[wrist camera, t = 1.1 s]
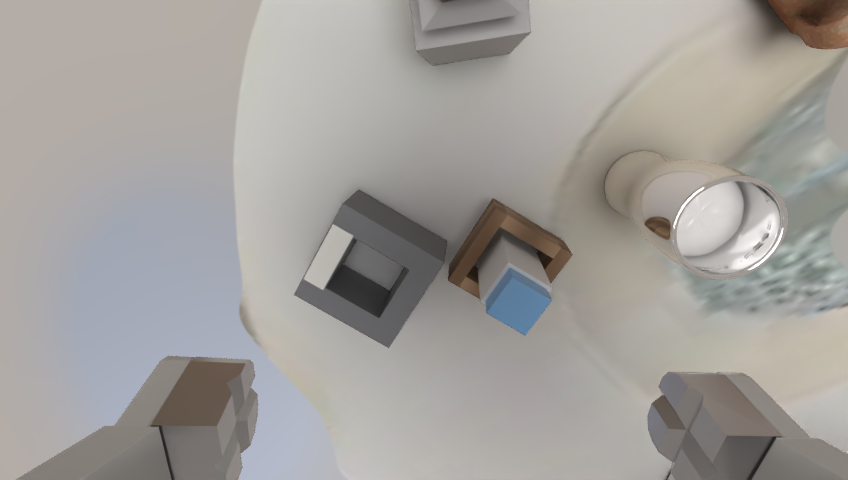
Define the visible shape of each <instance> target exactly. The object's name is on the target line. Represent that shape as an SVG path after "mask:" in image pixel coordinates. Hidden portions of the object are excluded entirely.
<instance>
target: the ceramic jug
mask: <svg viewBox="0 0 848 480" xmlns="http://www.w3.org/2000/svg"><path fill="white" fill-rule="evenodd" d="M767 1H768V2H769V4H770V5H771V7H772V8H773V10H774V11H775V12H776V13H777V15H778V16H779V17H780V18H781V20H782V21H783V22H785V23H786V25H787V27H788V29H789V30H790V31H791V33H793V34H797V35H800V36H801V38H802V39H803V41H804V42H805V44H806V45H808V46H809V47H812V48H818V49H837V48H844V47H848V0H767Z"/></svg>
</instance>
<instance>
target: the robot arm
mask: <svg viewBox="0 0 848 480" xmlns="http://www.w3.org/2000/svg"><path fill="white" fill-rule="evenodd" d="M254 378H255V371H254V365H253V362H252V361H251V360H247V359H227V358H208V357H179V356H167V357H166V358H164V359H162V360H161V361H160V362H159V364H158V365H157V366H156V368H155V369H154V371H153V372H152V374H151V375H150V376H149V378H148V379H147V380H146V382H145V383H144V385H143V386H142V387H141V389H140V390H139V392H138V393H137V394H136V396H135V397H134V399H133V400H132V402H131V403H130V404H129V406H128V407H127V409H126V410H125V411H124V413H123V414H122V416H121V417H120V419H119V420H118V421H117V423H116V424H115V425H114V426H104V427H102V428H101V429H99V430H97V431H96V432H94V433H92V434H91V435H89V436H87V437H86V438H84V439H82V440H81V441H79V442H77V443H76V444H74V445H72V446H71V447H69V448H68V449H66V450H64V451H62V452H61V453H59V454H58V455H56V456H54V457H53V458H51V459H49V460H48V461H46V462H44V463H43V464H41V465H39V466H38V467H36V468H34V469H33V470H31V471H30V472H28V473H26V474H24V475H23V476H21V477H19V478H18V479H16V480H238V478H239V475H240V473H241V470H242V461H241V453H242V452H243V451H244V450H246V449H247V448H248V447H249V446H250V445H251V441H252V439H253V435H254V433H255V428H256V422H257V417H258V397H257V393H256V392H255V391H254V390H253V389H252V388H251V385H252V383H253V380H254ZM659 389H660V391H661V393H662V396H661V397H659V398H658V399H657V400H655V401H654V402H653V403H652V404H651V407H650V410H649V413H648V430H649V433H650V436H651V439H652V441H653V443H654V445H655V447H656V448H657V450H658V452H659V453H661V454H662V455H663V456H665V457H666V458H667V459H669V460H670V461H671V462H672V466H671V474H670V476H669V478H668V480H848V454H846V453H844V452H842V451H841V450H839V449H837V448H835V447H833V446H832V445H830V444H828V443H826V442H824V441H823V440H821V439H816V438H810V437H809V436H808V435H807V434H806V433H805V432H804V431H803V429H802V428H801V427H800V426H799V425H798V424H797V423H796V422H795V421H794V420H793V419H792V418H791V417H790V416H789V415H788V414H787V413H786V412H785V411H784V410H783V409H782V408H781V407H780V406H779V405H778V404H777V403H776V402H775V401H774V400H773V399H772V398H771V397H770V396H769V395H768V394H767V393H766V392H765V391H764V390H763V389H762V388H761V387H760V386H759V385H758V384H757V383H756V382H755V381H754V380H753V379H752V378H751V377H749V376H747V375H745V374H743V373H720V372H718V373H699V372H668V373H667V374H666V375H665V376H663V377H662V380H661V382H660V385H659Z"/></svg>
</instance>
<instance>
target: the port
mask: <svg viewBox="0 0 848 480" xmlns="http://www.w3.org/2000/svg"><path fill="white" fill-rule="evenodd" d="M356 240H359V241H360V242H362V243H364V244H366V245H367V246H369V247H371V248H372V249H374V250H376V251H378V252H379V253H381V254H383V255H385V256H386V257H388V258H390V259H391V260H393V261H395V262H397V263H398V264H400V265H402V266H404V267H405V268H404V270H403V271H402V273H401V275H400V276H399V278H398V279H397V281H396V283H395V284H394V286H393V287H392V289H391V291H388V290H386V289H385V288H383V287H381V286H379V285H378V284H376V283H374V282H373V281H371V280H369V279H367V278H366V277H364V276H362V275H360V274H359V273H357V272H355V271H353V270H352V269H350V268H348V267H346V266H345V265H343V263H344V262H345V260H346V258H347V256H348V255H349V253H350V251H351V249H352V247H353V246H354V244H355V242H356ZM446 245H447V241H445V240H444V239H442V238H440V237H439V236H437V235H435V234H433V233H432V232H430V231H428V230H427V229H425V228H423V227H422V226H420V225H418V224H416V223H415V222H413V221H411V220H410V219H408V218H406V217H405V216H403V215H401V214H399V213H398V212H396V211H394V210H393V209H391V208H389V207H388V206H386V205H384V204H383V203H381V202H379V201H377V200H376V199H374V198H372V197H371V196H369V195H367V194H366V193H364V192H362V191H360V190H358V191H357V192H356V193H355V194H353V195H352V196H351V197H350V198H349V199H348V200H346V201H345V202H344V203H343V204H342V206H341V208H340V210H339V212H338V214H337V216H336V217H335V219H334V221H333V223H332V225H331V227H330V229H329V230H328V232H327V234H326V236H325V238H324V240H323V242H322V243H321V245H320V247H319V249H318V251H317V253H316V255H315V256H314V258H313V260H312V262H311V264H310V266H309V268H308V270H307V271H306V273H305V275H304V277H303V279H302V281H301V283H300V284H299V286H298V288H297V290H296V292H295V294H294V295H295V296H297V297H299V298H301V299H302V300H304V301H306V302H308V303H309V304H311V305H313V306H315V307H317V308H318V309H320V310H322V311H324V312H325V313H327V314H329V315H331V316H333V317H334V318H336V319H338V320H340V321H342V322H343V323H345V324H347V325H349V326H350V327H352V328H354V329H356V330H358V331H359V332H361V333H363V334H365V335H367V336H368V337H370V338H372V339H374V340H375V341H377V342H379V343H381V344H383V345H384V346H386V347H388V348H389V347H390V345H391V344H392V342H393V341H394V339H395V338H396V336H397V334H398V333H399V331H400V330H401V328H402V327H403V325H404V324H405V322H406V321H407V319H408V318H409V316H410V314H411V313H412V311H413V310H414V308H415V307H416V305H417V304H418V302H419V301H420V299H421V298H422V296H423V295H424V293H425V291H426V290H427V288H428V287H429V285H430V284H431V282H432V281H433V279H434V278H435V276H436V275H437V273H438V271H439V270H440V268H441V267H442V265H443V264H444V261H445V253H446Z"/></svg>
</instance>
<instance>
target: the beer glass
mask: <svg viewBox="0 0 848 480" xmlns="http://www.w3.org/2000/svg"><path fill="white" fill-rule="evenodd" d="M604 190H605V195H606V198H607V201H608V203H609V204H610V206H611V207H612V208H613V209H614V210H616V211H617V212H619V213H620V214H622V215H625V216H628V217H631V218H632V220H633V221H634V223H635V225H636V227H637V228H638V230H639V231H640V233H641V234H642V235H643V237H644V238H645V239H646V240H647V241H648V242H649V243H650V244H651V245H652V246H653V247H654V248H655V249H656V250H658V251H659V252H660V253H662V254H663V255H665V256H666V257H667V258H669V259H670V260H672V261H674V262H675V263H677V264H679V265H681V266H683V267H684V268H686V269H687V270H688V271H690V272H691V273H693V274H695V275H697V276H700V277H703V278H707V279H713V280H727V279H733V278H737V277H741V276H744V275H746V274H748V273H751V272H753V271H754V270H756V269H758V268H759V267H761V266H762V265H763V264H765V263H766V262H767V261H768V260H769V259H770V258H771V257H772V256H773V255H774V254H775V252H776V251H777V250H778V248H779V247H780V245H781V243H782V241H783V239H784V236H785V233H786V229H787V222H788V216H787V209H786V206H785V203H784V201H783V199H782V197H781V196H780V194H779V193H778V192H777V191H776V190H775V189H774V188H773V187H772V186H771V185H769V184H768V183H766V182H765V181H762V180H760V179H758V178H754V177H751V176H749V175H747V174H745V173H742V172H740V171H737V170H735V169H732V168H729V167H726V166H723V165H720V164H716V163H712V162H707V161H701V160H675V161H667V160H666V159H665V158H664V157H662V156H661V155H659V154H657V153H655V152H651V151H636V152H632V153H629V154H627V155H625V156H623V157H622V158H620V159H619V160H618V161H616V162H615V163H614V164H613V166H612V167H611V168H610V170H609V172H608V174H607V176H606V179H605V185H604Z"/></svg>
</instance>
